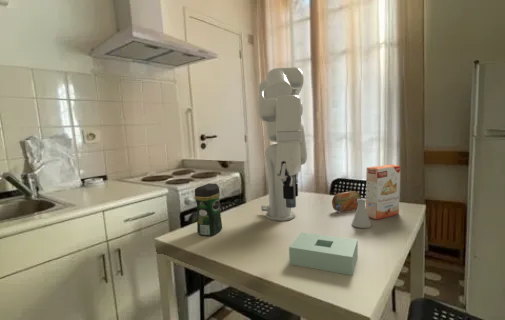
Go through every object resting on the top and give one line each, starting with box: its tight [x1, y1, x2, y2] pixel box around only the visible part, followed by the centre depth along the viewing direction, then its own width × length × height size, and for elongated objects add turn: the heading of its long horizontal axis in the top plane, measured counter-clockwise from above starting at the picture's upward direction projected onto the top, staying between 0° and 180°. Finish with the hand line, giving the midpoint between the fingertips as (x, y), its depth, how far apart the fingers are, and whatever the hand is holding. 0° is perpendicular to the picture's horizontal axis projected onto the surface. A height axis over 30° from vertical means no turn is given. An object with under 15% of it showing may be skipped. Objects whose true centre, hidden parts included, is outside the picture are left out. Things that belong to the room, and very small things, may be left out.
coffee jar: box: [194, 182, 223, 237], centre depth 108 cm, size 10×8×19 cm
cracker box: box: [365, 164, 401, 221], centre depth 118 cm, size 14×6×21 cm, turn 117°
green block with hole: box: [288, 232, 359, 276], centre depth 82 cm, size 17×12×5 cm
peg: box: [286, 174, 297, 209], centre depth 87 cm, size 3×3×10 cm
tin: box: [331, 190, 362, 214], centre depth 128 cm, size 15×3×8 cm, turn 114°
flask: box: [351, 198, 372, 229], centre depth 108 cm, size 7×7×10 cm
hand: (290, 196), depth 87 cm, fingers closed on peg, 3 cm apart
